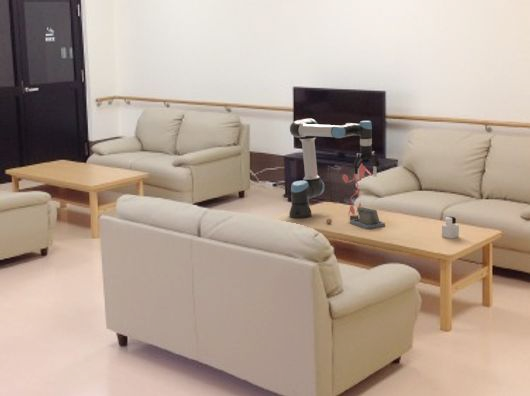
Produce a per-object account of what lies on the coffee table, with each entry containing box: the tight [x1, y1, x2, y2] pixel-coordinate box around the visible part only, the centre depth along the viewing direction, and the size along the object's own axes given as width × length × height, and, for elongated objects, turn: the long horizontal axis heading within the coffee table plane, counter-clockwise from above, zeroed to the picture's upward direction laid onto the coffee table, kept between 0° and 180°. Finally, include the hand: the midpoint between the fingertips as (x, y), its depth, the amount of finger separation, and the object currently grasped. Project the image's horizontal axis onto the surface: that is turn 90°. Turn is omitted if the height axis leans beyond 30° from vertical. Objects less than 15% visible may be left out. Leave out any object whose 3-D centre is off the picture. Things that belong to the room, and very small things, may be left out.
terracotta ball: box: [325, 217, 333, 225], centre depth 511 cm, size 4×4×4 cm
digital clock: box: [356, 206, 381, 226], centre depth 503 cm, size 16×9×11 cm, turn 29°
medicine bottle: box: [441, 216, 460, 240], centre depth 467 cm, size 7×7×12 cm
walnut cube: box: [349, 214, 359, 221], centre depth 515 cm, size 4×4×4 cm
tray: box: [349, 219, 386, 230], centre depth 504 cm, size 13×19×2 cm
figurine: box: [342, 162, 373, 215], centre depth 530 cm, size 15×26×35 cm, turn 135°
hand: (366, 177), depth 509 cm, fingers open, 13 cm apart
